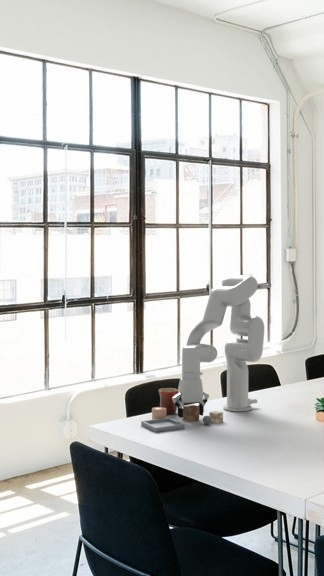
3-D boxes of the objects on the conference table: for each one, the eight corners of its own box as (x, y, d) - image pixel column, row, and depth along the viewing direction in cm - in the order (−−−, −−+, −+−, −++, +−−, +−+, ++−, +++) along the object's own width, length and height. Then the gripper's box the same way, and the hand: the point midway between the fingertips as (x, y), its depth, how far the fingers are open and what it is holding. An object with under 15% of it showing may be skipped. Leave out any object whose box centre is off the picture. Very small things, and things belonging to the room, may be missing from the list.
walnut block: (193, 418, 305) (193, 404, 304) (199, 420, 300) (199, 406, 300) (183, 419, 302) (183, 405, 302) (188, 422, 298) (188, 407, 298)
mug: (157, 415, 311) (157, 391, 310) (159, 410, 319) (159, 387, 319) (185, 415, 309) (185, 392, 309) (186, 411, 318) (186, 388, 318)
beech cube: (216, 420, 302) (216, 410, 301) (223, 421, 299) (223, 412, 299) (209, 421, 299) (209, 412, 299) (216, 423, 296) (216, 413, 296)
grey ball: (208, 423, 296) (208, 414, 296) (212, 424, 293) (212, 416, 293) (200, 423, 295) (200, 415, 294) (205, 425, 291) (205, 417, 291)
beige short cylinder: (162, 418, 305) (162, 406, 305) (168, 421, 300) (168, 409, 300) (149, 419, 303) (149, 408, 302) (156, 422, 297) (155, 410, 297)
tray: (169, 421, 298) (169, 417, 298) (184, 428, 287) (184, 424, 287) (141, 425, 292) (141, 420, 292) (155, 432, 281) (155, 427, 281)
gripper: (204, 372, 308) (203, 412, 308) (168, 375, 300) (168, 416, 300) (213, 375, 301) (212, 415, 302) (177, 378, 293) (176, 419, 294)
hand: (190, 416), depth 301 cm, fingers open, 9 cm apart
